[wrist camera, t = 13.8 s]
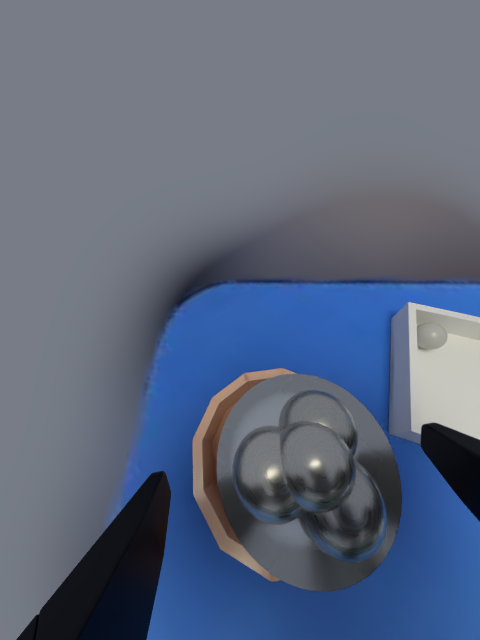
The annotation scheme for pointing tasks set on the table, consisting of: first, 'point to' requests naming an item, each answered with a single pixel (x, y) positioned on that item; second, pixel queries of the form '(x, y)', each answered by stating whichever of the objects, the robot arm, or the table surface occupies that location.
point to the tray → (434, 374)
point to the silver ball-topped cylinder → (309, 482)
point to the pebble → (431, 336)
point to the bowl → (207, 465)
